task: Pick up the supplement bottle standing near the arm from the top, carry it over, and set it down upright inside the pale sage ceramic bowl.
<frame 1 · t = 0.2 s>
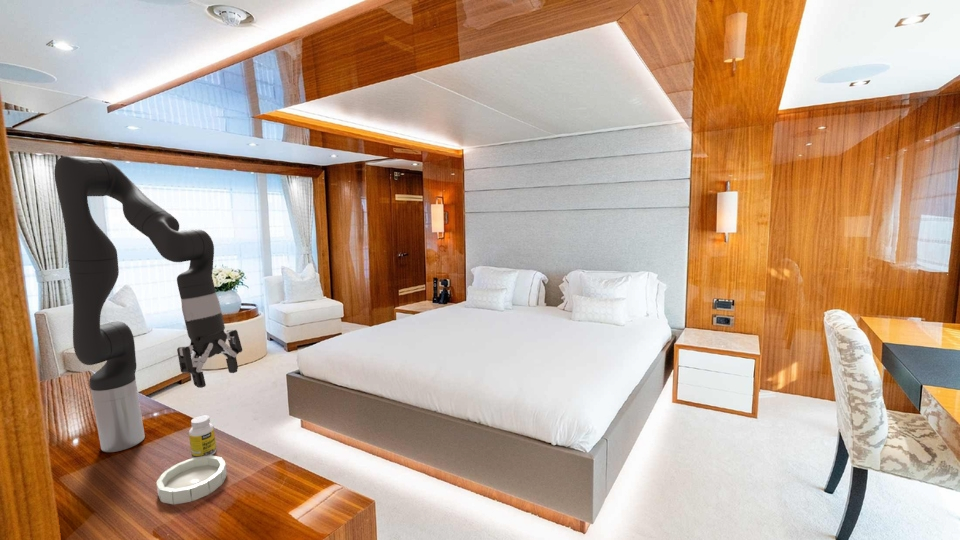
hand: (217, 379, 105), 22 cm above the table, tool pointing down, fingers open, 8 cm apart
sage bowl: (193, 484, 101), on the table
supplement bottle: (204, 454, 112), on the table
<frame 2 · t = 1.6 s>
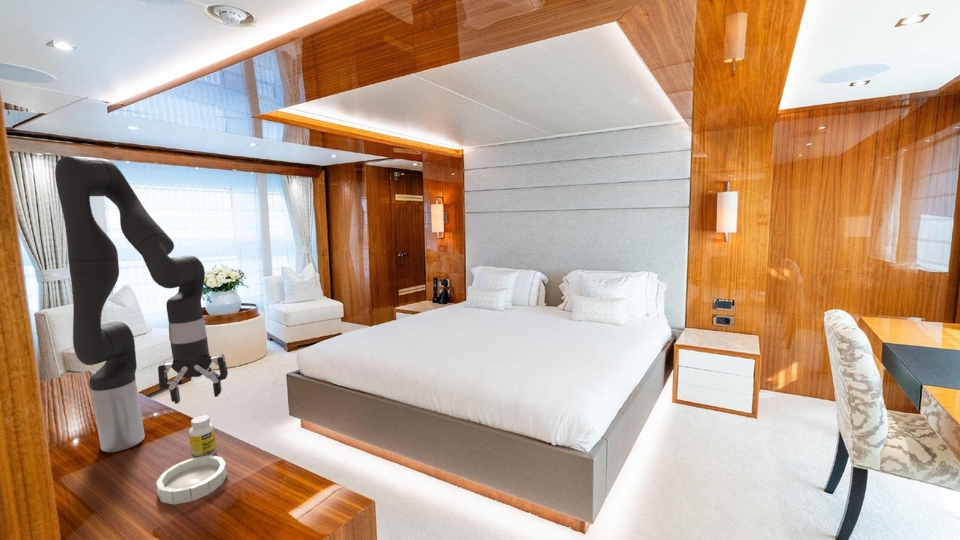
hand: (197, 398, 110), 15 cm above the table, tool pointing down, fingers open, 8 cm apart
nothing on the table moved.
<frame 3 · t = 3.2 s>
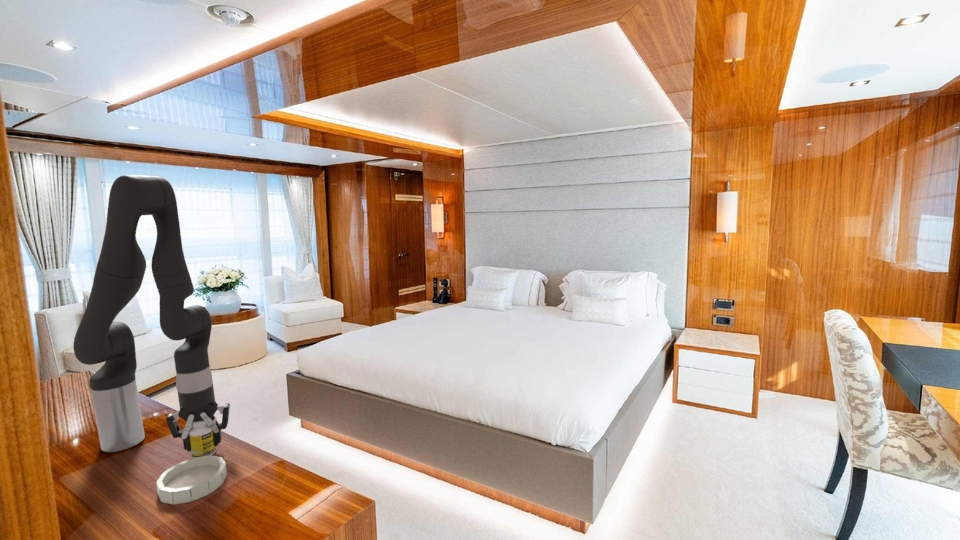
hand: (203, 446, 112), 2 cm above the table, tool pointing down, fingers closed on supplement bottle, 5 cm apart
supplement bottle: (204, 454, 112), on the table, touching gripper
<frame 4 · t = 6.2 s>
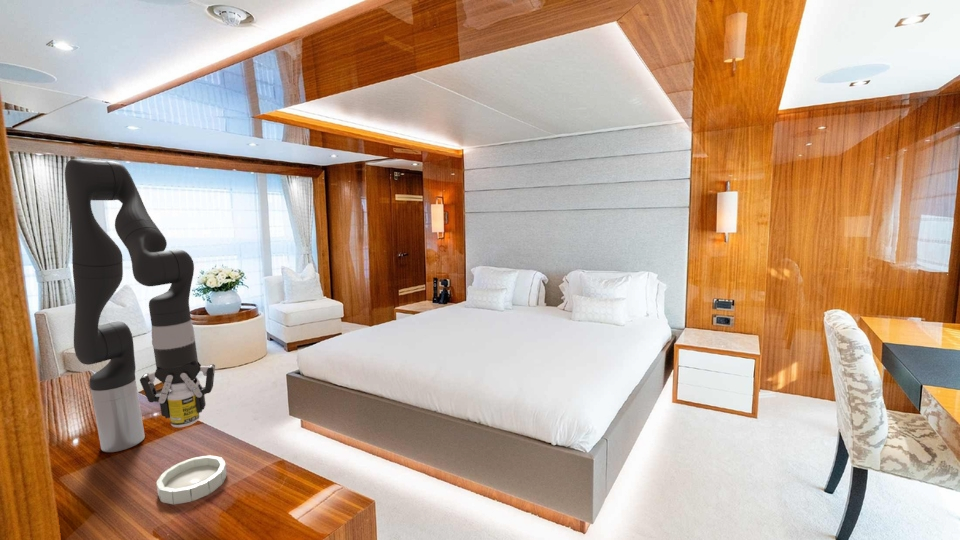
hand: (184, 413, 98), 17 cm above the table, tool pointing down, fingers closed on supplement bottle, 5 cm apart
supplement bottle: (186, 422, 98), point 15 cm above the table, touching gripper
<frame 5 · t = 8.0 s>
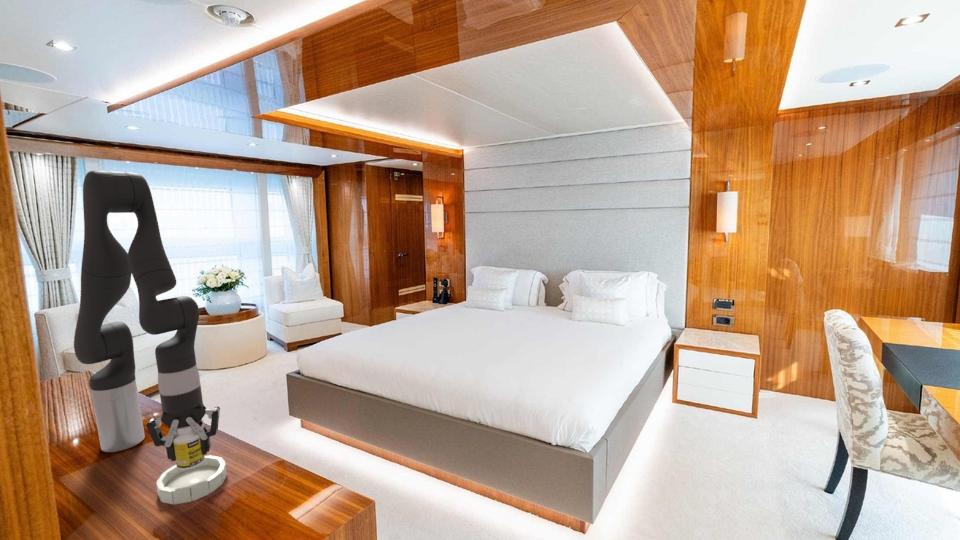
hand: (190, 455, 99), 7 cm above the table, tool pointing down, fingers closed on supplement bottle, 5 cm apart
supplement bottle: (191, 464, 100), point 5 cm above the table, touching gripper
when the fingers open (4 cm above the table, at t = 9.5 s): supplement bottle drops 1 cm, resting on sage bowl.
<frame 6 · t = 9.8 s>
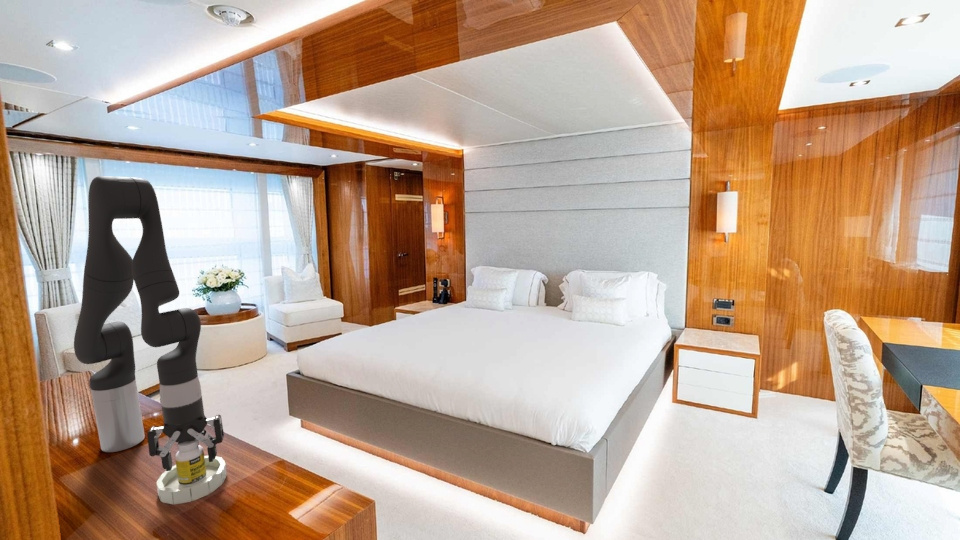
hand: (190, 464, 100), 5 cm above the table, tool pointing down, fingers open, 8 cm apart
supplement bottle: (193, 480, 100), point 1 cm above the table, touching sage bowl
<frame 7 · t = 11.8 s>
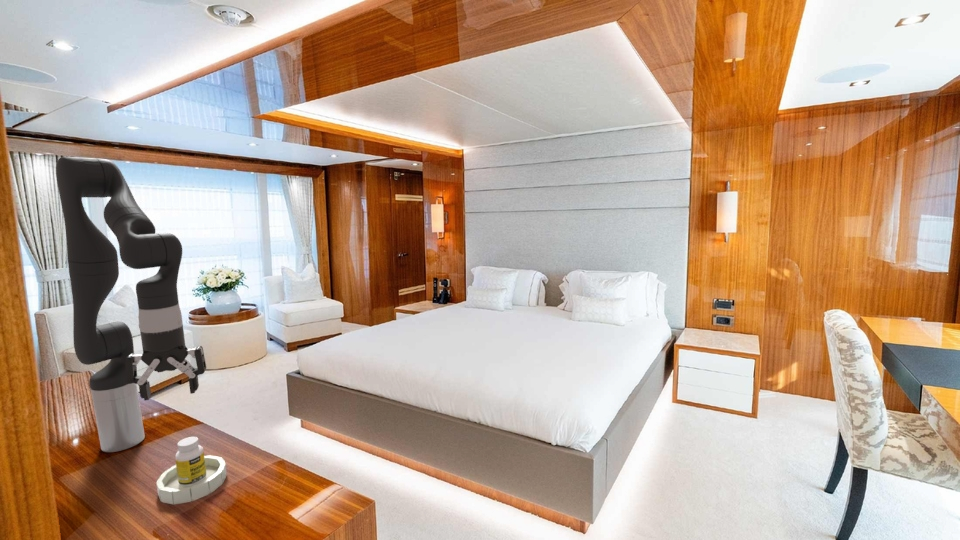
hand: (170, 395, 97), 22 cm above the table, tool pointing down, fingers open, 8 cm apart
nothing on the table moved.
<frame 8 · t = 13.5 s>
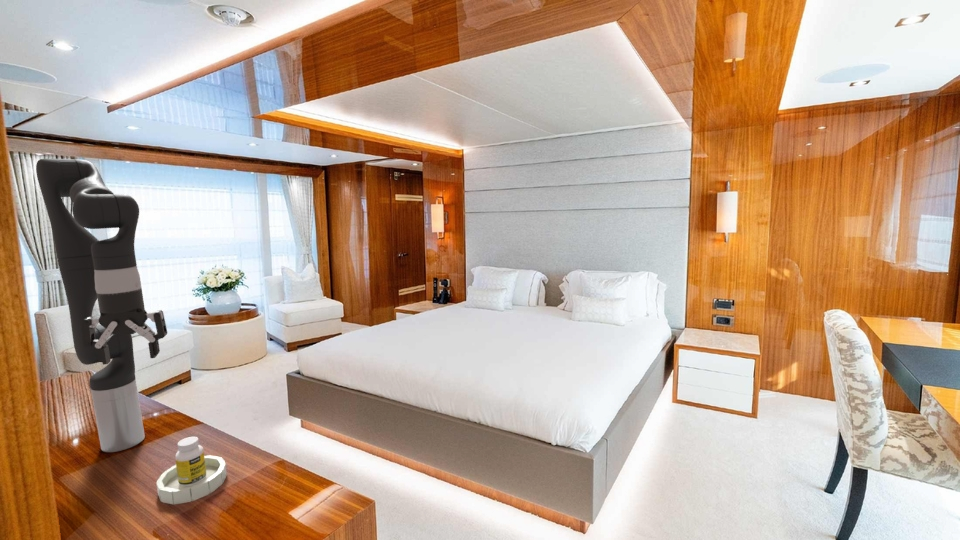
hand: (130, 360, 96), 30 cm above the table, tool pointing down, fingers open, 8 cm apart
nothing on the table moved.
at the end: supplement bottle inside the target area on the sage bowl (0.1 cm from its centre), point 0.8 cm above the sage bowl's base; supplement bottle tilted 0°; the gripper is holding nothing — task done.
